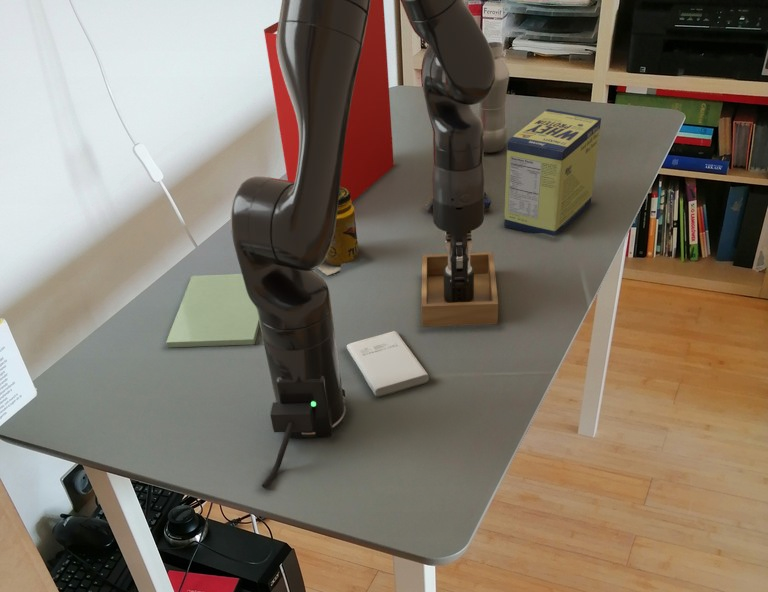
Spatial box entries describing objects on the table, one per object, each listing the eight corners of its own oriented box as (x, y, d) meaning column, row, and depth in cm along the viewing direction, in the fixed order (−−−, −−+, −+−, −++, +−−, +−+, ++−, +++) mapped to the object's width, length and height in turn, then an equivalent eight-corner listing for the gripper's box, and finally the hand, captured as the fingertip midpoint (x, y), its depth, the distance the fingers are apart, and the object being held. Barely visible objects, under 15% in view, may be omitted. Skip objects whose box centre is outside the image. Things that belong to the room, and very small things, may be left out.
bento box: (497, 327, 126) (498, 303, 123) (422, 330, 127) (421, 306, 124) (492, 275, 137) (492, 251, 134) (423, 278, 138) (422, 254, 135)
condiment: (368, 260, 143) (362, 193, 135) (327, 276, 140) (318, 209, 132) (346, 244, 148) (339, 179, 139) (306, 260, 145) (296, 194, 136)
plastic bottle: (468, 148, 173) (469, 44, 158) (496, 141, 174) (499, 37, 160) (484, 159, 168) (486, 53, 154) (512, 151, 170) (517, 45, 156)
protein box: (592, 203, 152) (602, 116, 141) (555, 240, 143) (563, 151, 132) (541, 192, 156) (547, 107, 145) (502, 227, 148) (505, 140, 137)
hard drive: (375, 398, 116) (347, 352, 124) (428, 382, 118) (397, 338, 126) (374, 389, 115) (346, 343, 123) (428, 373, 117) (396, 329, 125)
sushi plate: (254, 344, 128) (253, 339, 127) (167, 347, 129) (165, 342, 128) (272, 277, 141) (271, 272, 141) (193, 280, 142) (191, 275, 142)
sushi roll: (474, 304, 129) (474, 275, 126) (444, 305, 130) (443, 276, 126) (473, 288, 133) (473, 259, 129) (443, 289, 133) (443, 261, 129)
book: (360, 160, 172) (344, -15, 149) (393, 166, 169) (382, -12, 146) (289, 218, 156) (259, 32, 133) (324, 225, 153) (299, 36, 130)
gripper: (432, 171, 124) (435, 273, 136) (432, 215, 114) (435, 320, 126) (482, 169, 123) (480, 271, 136) (486, 213, 113) (484, 319, 126)
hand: (458, 294), depth 131 cm, fingers closed on sushi roll, 4 cm apart
